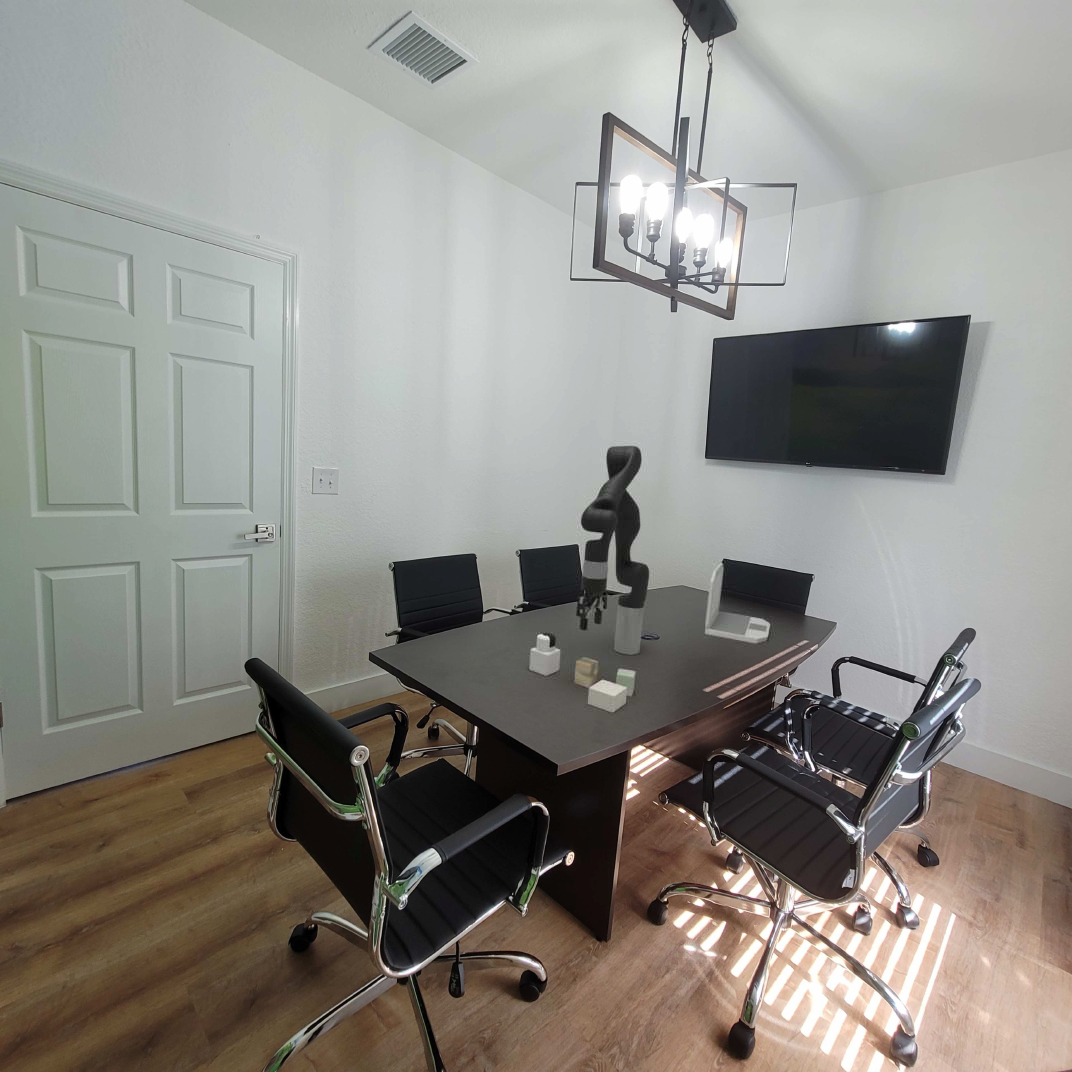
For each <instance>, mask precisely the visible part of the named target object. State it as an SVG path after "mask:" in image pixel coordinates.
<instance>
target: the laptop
mask: <svg viewBox="0 0 1072 1072" xmlns="http://www.w3.org/2000/svg"><path fill="white" fill-rule="evenodd" d="M724 570H725V569H724V563H723V562H722V563H719V564H718V565H717V566H716V568H715V569H714V570H713V572H712V575H711V578H710V583H709V589H708V596H707V597H708V598H707V606H706V617H705V624H704V625H705V629H704V634H705V635H710V636H714V637H715V636H716V637H721V638H726V639H731V640H737V641H742V642H747V643H752V644H759V643H763V642H766V641H767V640H768V639H769V638H768V637H769V633H770V627H771V623H769V622H768V621H766V620H765V619H763V618H758V617H754V616H753V617H752V616H749V615H743V614H738V613H732V612H727V611H719V610H720V602H721V595H722V594H721V593H722V586H723V576H724Z"/></svg>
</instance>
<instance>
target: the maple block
mask: <svg viewBox="0 0 1072 1072" xmlns="http://www.w3.org/2000/svg"><path fill="white" fill-rule="evenodd" d="M598 668H599V661H598V660H595V659H591V658H588V657H586V656H585V657H582V658H580V659H578V660H576V661H575V669H574V681H573V682H574V684H576V685H579V686H582V687H585V688H586V689H587V688H588V689H589V688H590V687H591V686H593V685H594V684H596V683H597V679H598Z"/></svg>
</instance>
